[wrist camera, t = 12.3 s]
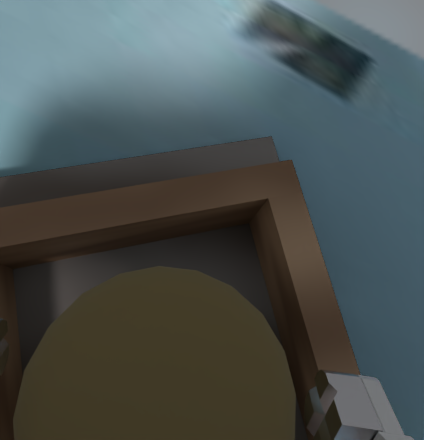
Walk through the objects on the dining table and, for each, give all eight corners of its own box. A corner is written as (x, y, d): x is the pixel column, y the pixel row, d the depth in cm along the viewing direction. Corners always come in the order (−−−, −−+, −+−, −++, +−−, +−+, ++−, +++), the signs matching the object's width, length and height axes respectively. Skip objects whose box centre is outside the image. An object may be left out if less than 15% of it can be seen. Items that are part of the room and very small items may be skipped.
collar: (393, 562, 16) (477, 643, 12) (-14, 727, 13) (-100, 917, 9) (266, 145, 21) (293, 96, 17) (-43, 193, 18) (-105, 148, 14)
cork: (243, 315, 17) (369, 278, 7) (211, 463, 15) (319, 725, 5) (115, 279, 17) (44, 186, 7) (65, 425, 15) (-146, 620, 5)
